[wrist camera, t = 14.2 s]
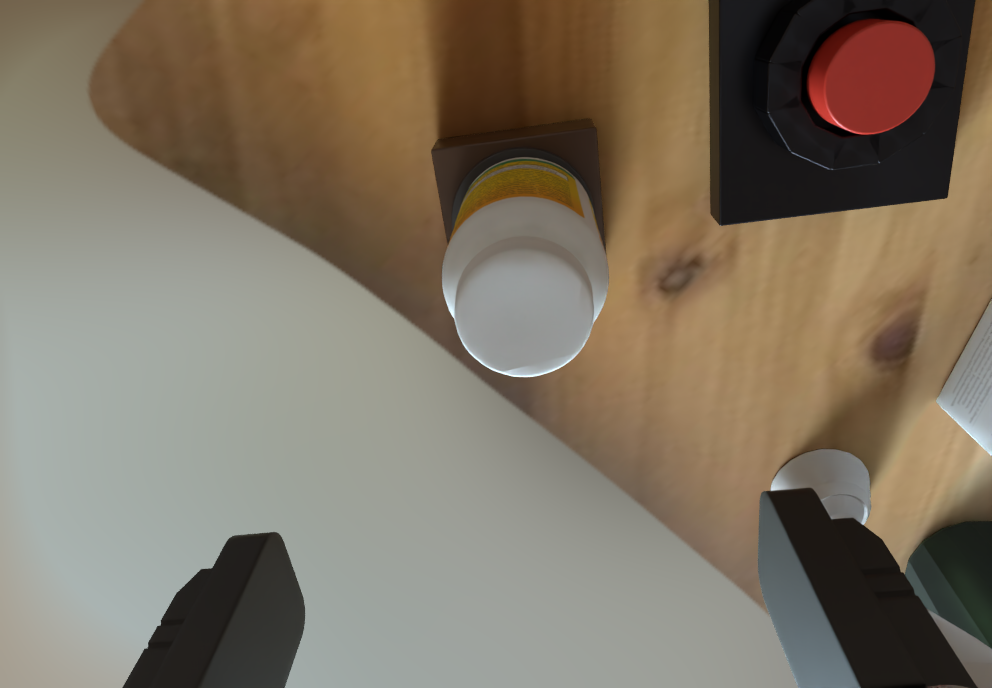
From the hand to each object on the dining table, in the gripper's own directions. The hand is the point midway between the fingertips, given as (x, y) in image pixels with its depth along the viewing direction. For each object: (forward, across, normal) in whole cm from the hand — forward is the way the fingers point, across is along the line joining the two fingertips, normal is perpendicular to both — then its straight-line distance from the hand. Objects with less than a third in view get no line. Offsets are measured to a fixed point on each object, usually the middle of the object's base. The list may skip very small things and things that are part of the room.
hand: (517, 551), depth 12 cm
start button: (+18, -13, -4) cm, 23 cm away
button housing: (+21, -12, -4) cm, 25 cm away
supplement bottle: (+19, 0, 0) cm, 19 cm away
